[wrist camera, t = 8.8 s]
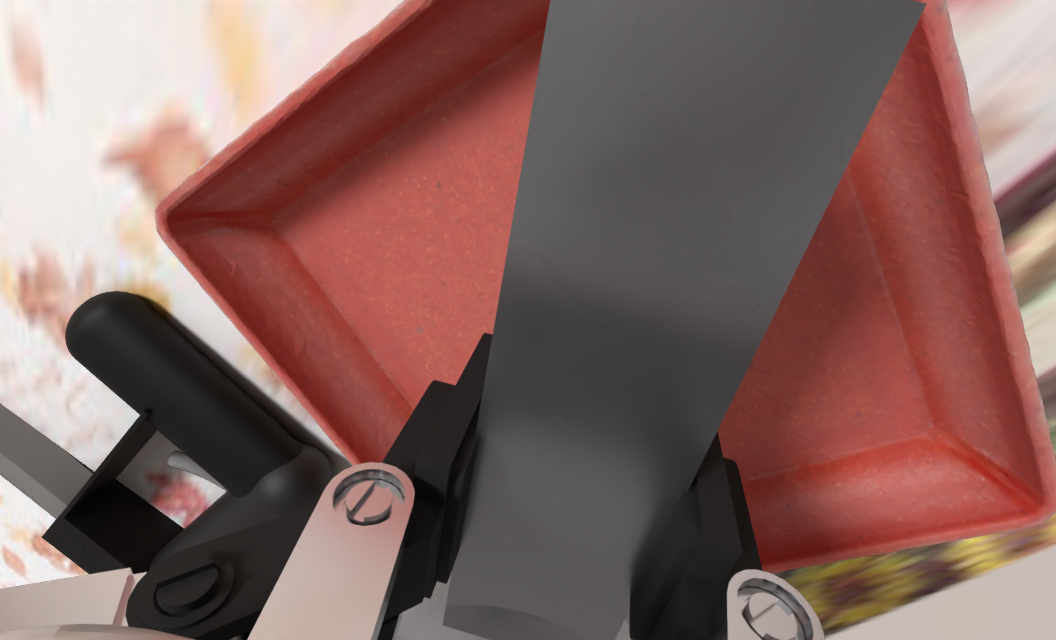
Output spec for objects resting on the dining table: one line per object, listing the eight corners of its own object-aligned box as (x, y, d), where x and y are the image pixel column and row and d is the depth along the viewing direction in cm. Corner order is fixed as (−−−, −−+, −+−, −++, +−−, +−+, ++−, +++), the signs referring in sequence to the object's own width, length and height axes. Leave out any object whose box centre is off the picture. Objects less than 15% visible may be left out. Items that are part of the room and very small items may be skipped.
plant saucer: (218, 188, 17) (129, 218, 14) (798, -261, 10) (867, -391, 7) (504, 552, 22) (485, 626, 20) (993, 433, 16) (1075, 521, 13)
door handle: (-129, 473, 25) (138, 673, 27) (-39, 205, 16) (341, 542, 19) (-45, 430, 27) (188, 615, 30) (70, 185, 19) (384, 478, 21)
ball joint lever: (524, -37, 8) (452, -90, 5) (883, 35, 8) (1053, 27, 5) (434, 578, 16) (385, 705, 13) (606, 630, 16) (599, 774, 13)
